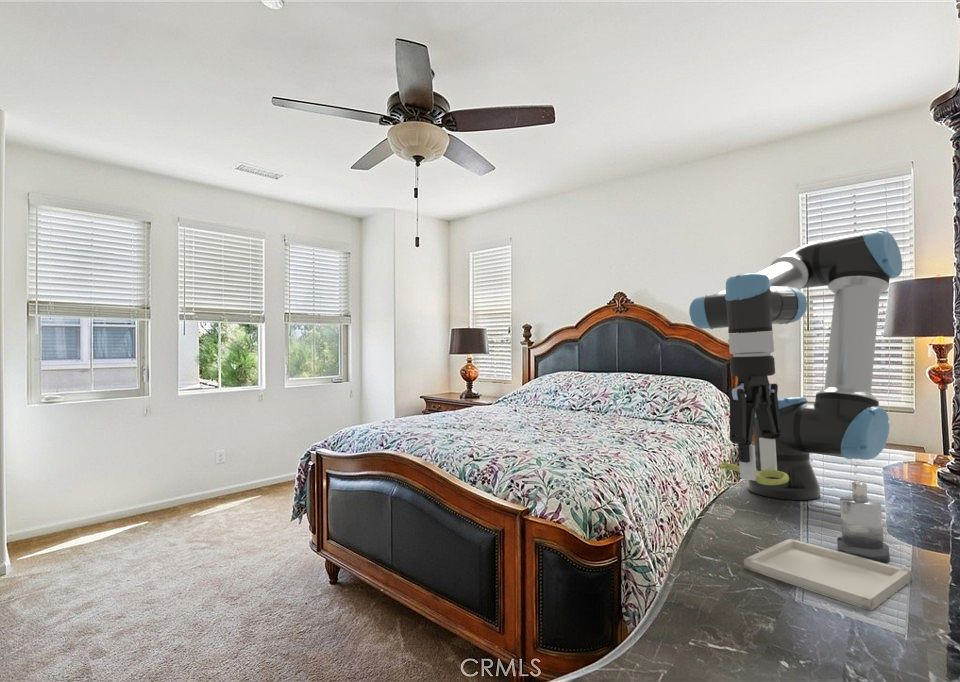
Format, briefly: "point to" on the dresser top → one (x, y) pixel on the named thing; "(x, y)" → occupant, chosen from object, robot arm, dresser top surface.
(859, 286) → the robot arm
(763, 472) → the key
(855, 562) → the tray
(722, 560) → the dresser top surface
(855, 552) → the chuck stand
